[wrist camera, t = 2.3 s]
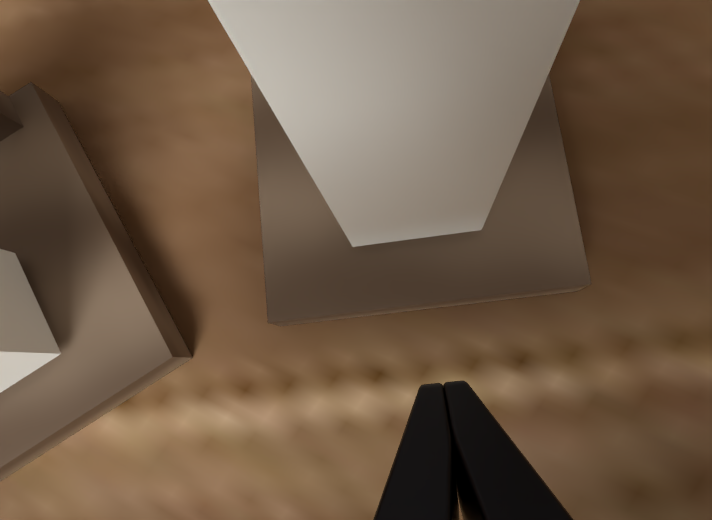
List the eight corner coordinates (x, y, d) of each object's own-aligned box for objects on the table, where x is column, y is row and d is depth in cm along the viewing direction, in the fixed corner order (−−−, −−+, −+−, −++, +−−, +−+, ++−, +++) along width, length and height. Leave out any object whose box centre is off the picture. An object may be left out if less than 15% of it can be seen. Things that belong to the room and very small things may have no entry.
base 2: (577, 291, 17) (622, 269, 13) (280, 326, 18) (241, 315, 14) (515, -24, 20) (538, -119, 16) (258, 22, 21) (220, -57, 17)
